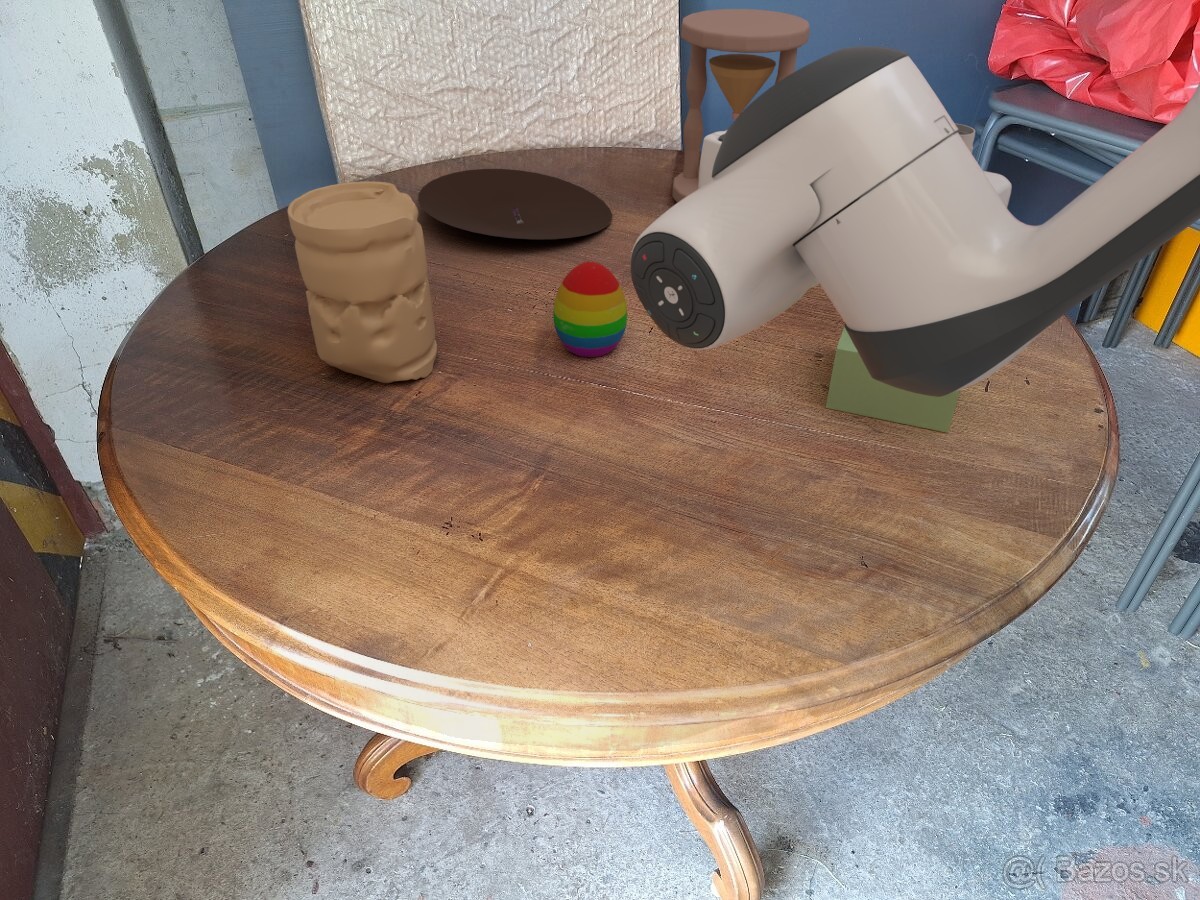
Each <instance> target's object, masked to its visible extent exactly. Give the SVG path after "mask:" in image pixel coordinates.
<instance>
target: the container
mask: <svg viewBox="0 0 1200 900" xmlns="http://www.w3.org/2000/svg"><path fill="white" fill-rule="evenodd" d="M419 215H420V214H419V209H418V207H417V205H416V203H415V202H414V201H413V199H412V197H411V196H410V195H409V194H407V193H406V192H401V191H400V190H399V189H397V187H396V184H394V183H392V182H385V181H371V180H370V181H369V180H368V181H348V182H342V183H336V184H330V185H326V186H322V187H318V188H314V189H312V190H309V191H307V192H305V193H303V194H301V195H300V196H298V197H296V198H295V199H293V200H292V201H291V202H290V203H289V205H288V207H287V216H288V221H289V226H290V230H291V232H292V234H293V236H294V238H295V242H294V248H295V253H296V259H297V264H298V268H299V271H300V274H301V278H302V280H303V283H304V285H305V288H306V289H307V290H306V291H305V295H306V300H307V305H308V307H307V308H308V315H309V318H310V324H311V330H312V334H313V339H314V343H315V347H316V352H317V356H318V357H319V359H320V360H322V361H323V362H324V363H326V364H327V365H328V366H331V367H334V368H337V369H339V370H341V371H342V372H345V373H349V374H352V375H356V376H361V377H363V378H366V379H369V380H372V381H375V382H378V383H379V382H380V383H382V384H391V383H394V382H399V381H409V380H416V381H417V380H418V379H423V378H425V379H426V377H427V378H428V376H429V375H430V374H431V373H432V372H433V370H434V364H435V362H436V361H435V360H436V357H437V355H438V343H437V340H436V327H435V318H434V311H433V303H432V295H431V287H430V281H429V278H428V261H427V254H426V245H425V239H424V233H423V227H422V225H421V223H420V222H419V221H418V218H419Z"/></svg>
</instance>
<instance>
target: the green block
mask: <svg viewBox="0 0 1200 900" xmlns="http://www.w3.org/2000/svg"><path fill="white" fill-rule="evenodd" d="M830 375H831V376H830V380H829V387H828V392H827V397H826V403H825V409H828V410H829V409H830V410H834V411H838V412H844V413H848V414H853V415H857V416H863V417H867V418H871V419H877V420H883V421H887V422H893V423H898V424H903V425H908V426H912V427H916V428H922V429H926V430H931V431H936V432H942V433H945V434H948V433H949V431H950V429H951V425H952V421H953V418H954V416H955V411H956V408H957V403H958V401H959V397H960V394H961V391H962V390H959V391H955V392H952V393H950V394H947V395H945V396H941V397H935V396H928V395H922V394H917V393H913V392H909V391H905V390H902V389H899V388H896V387H893V386H890V385H887V384H885V383H882V382H880V381H877V380H875V379H873V378H872V377H871V375H870V373H869V372H868V370H867V368H866V366H865V364H864V362H863V360H862V359H861V357H860V355H859V353H858V351H857V349H856V347H855V346H854V344H853V342H852V340H851V338H850V336H849V334H848V333H847V331H846V329H845V326H844V325H843V329H842V332H841V334H840V337H839V340H838V343H837V346H836V347H835V355H834V359H833V364H832V371H831V374H830Z"/></svg>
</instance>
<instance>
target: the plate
mask: <svg viewBox="0 0 1200 900" xmlns="http://www.w3.org/2000/svg"><path fill="white" fill-rule="evenodd" d="M417 195H418V196H417V201H418V204H419V205H420V208H421V209H422V210H423V211H424V212H425V213H426V214H428V215H429V216H431V217H432V218H433V219H436V220H437V221H439V222H441V223H442V224H443V223H444V224H447V225H449V226H450V227H453V228H456V229H460V230H464V231H468V232H472V233H476V234H481V235H487V236H491V237H500V238H508V239H519V240H521V239H522V240H559V239H572V238H577V237H582V236H583V237H584V236H588V235H591V234H594V233H598V232H600V231H601V230H603V229H605V228H607V227H608V226H609V225H610V223H612V221H613V220H612V219H613V213H612V210H611V208H610V207H609V206H608V204H606V202H605V201H604V200H602V199H601V198H600V197H599V196H597V195H596V194H594V193H593V192H591V191H589V190H587V189H585V188H584V187H581V186H579V185H577V184H574V183H572V182H571V181H567V180H565V179H564V180H563V179H561V178H559V177H558V178H557V177H555V176H551V175H547V174H543V173H539V172H532V171H527V170H520V169H508V168H478V169H477V168H476V169H467V170H462V171H456V172H452V173H448V174H445V175H441V176H438V177H436V178H435V179H432V180H430V181H429V182H428V183H426V184H425V185H423V186H422V188H421V189H420V191H419V192H418V194H417Z"/></svg>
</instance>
